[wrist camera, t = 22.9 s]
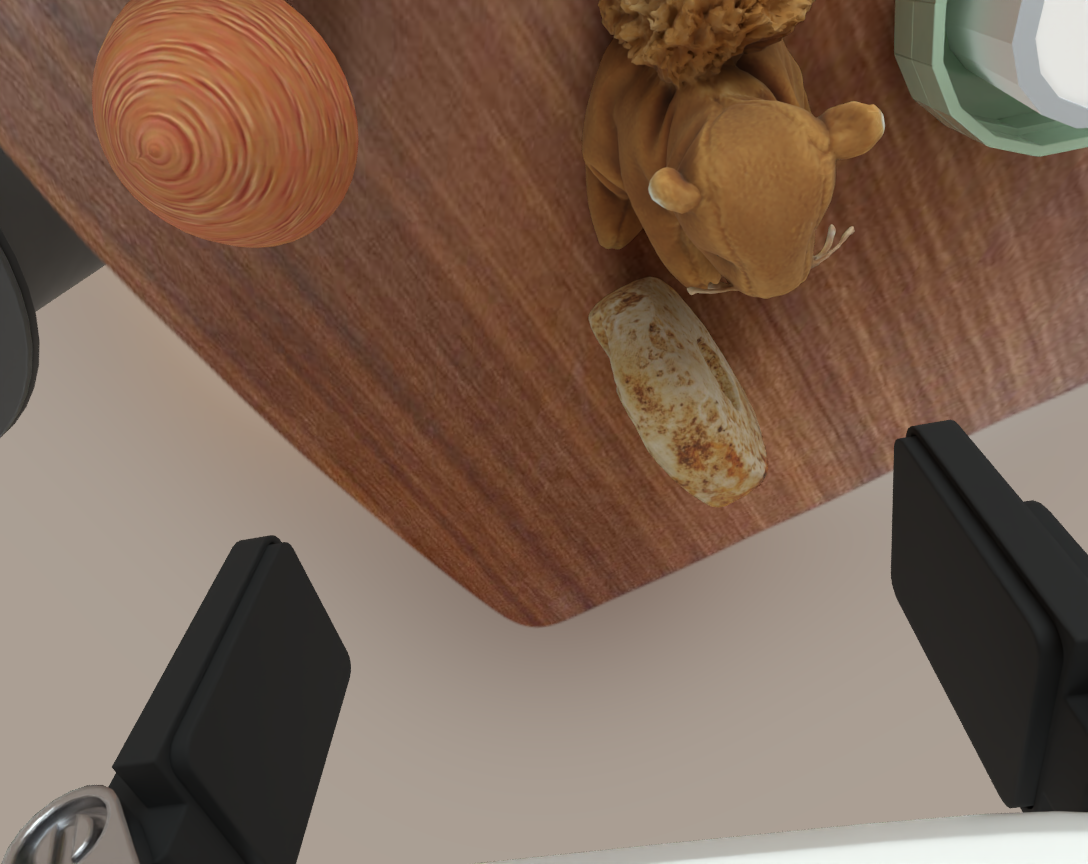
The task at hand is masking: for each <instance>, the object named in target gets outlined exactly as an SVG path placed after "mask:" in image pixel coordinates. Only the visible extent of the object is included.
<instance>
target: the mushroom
mask: <svg viewBox="0 0 1088 864" xmlns="http://www.w3.org/2000/svg"><path fill="white" fill-rule="evenodd" d="M92 104H93V118H94V122H95V127H96V131H97V135H98V138H99V141H100V143H101V146H102V149H103V152H104V154H105V156H106V158H107V159H108V161H109V163H110V165H111V167H112V169H113V170H114V172H115V173H116V175H117V176H118V178H119V179H120V181H121V182H122V184H123V185H124V186H125V187H126V188H127V189H128V190H129V191H130V193H131V194H132V195H133V196H134V197H135V198H136V199H137V200H138V201H139V202H140V203H141V204H143V205H144V206H145V207H146V208H147V209H148V210H150V211H151V212H153V213H154V214H155V215H157V216H158V217H160V218H161V219H163V220H164V221H166V222H167V223H169V224H171V225H173V226H174V227H176V228H178V229H180V230H182V231H184V232H186V233H189V234H191V235H194V236H197V237H199V238H202V239H205V240H209V241H214V242H218V243H223V244H227V245H232V246H239V247H253V248H260V247H272V246H278V245H282V244H285V243H289V242H293V241H295V240H297V239H299V238H301V237H304V236H306V235H308V234H309V233H311V232H312V231H314V230H315V229H316V228H318V227H319V226H321V225H322V224H323V223H324V222H325V221H326V220H327V219H328V218H329V217H330V216H331V215H332V214H333V213H334V212H335V210H336V209H337V207H338V206H339V204H340V203H341V201H342V200H343V198H344V197H345V194H346V192H347V190H348V188H349V185H350V183H351V181H352V177H353V174H354V170H355V166H356V162H357V152H358V125H357V117H356V112H355V107H354V102H353V98H352V95H351V92H350V89H349V86H348V83H347V81H346V78H345V75H344V73H343V72H342V70H341V68H340V66H339V64H338V62H337V60H336V58H335V56H334V54H333V53H332V51H331V50H330V48H329V47H328V46H327V44H326V43H325V41H324V40H323V38H322V37H321V35H320V34H319V33H318V32H317V31H316V30H315V29H314V28H313V27H312V25H311V24H310V23H309V22H308V21H307V20H306V19H305V18H304V17H303V16H302V15H301V14H300V13H298V12H297V11H296V10H295V9H294V8H292V7H291V6H290V5H289V4H288V3H286V2H285V1H284V0H131V1H129V2H128V3H127V4H126V5H125V7H124V8H123V9H122V11H121V12H120V14H119V15H118V16H117V18H116V19H115V20H114V22H113V24H112V26H111V28H110V30H109V32H108V34H107V36H106V38H105V40H104V42H103V45H102V47H101V49H100V52H99V54H98V57H97V61H96V65H95V69H94V74H93V86H92Z"/></svg>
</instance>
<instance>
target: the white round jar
mask: <svg viewBox="0 0 1088 864" xmlns="http://www.w3.org/2000/svg"><path fill="white" fill-rule="evenodd" d="M945 28H946V33H947V38H948V43H949V47H950V50H951V51H952V52H953V53H954V55H955V56H956V57H957V58H958V60H959V61H960V62H961V63H962V64H963V66H964V67H965V68H966V69H967V70H969V71H971V72H972V73H974V74H975V75H977V76H979V77H980V78H982V79H984V80H985V81H987V82H989V83H990V84H992V85H993V86H995V87H997V88H998V89H1000V90H1002V91H1003V92H1005V93H1007V94H1008V95H1010V96H1011V97H1013V98H1015V99H1016V100H1018V101H1020V102H1021V103H1023V104H1025V105H1026V106H1028V107H1029V108H1031V109H1033V110H1034V111H1036V112H1038V113H1039V114H1041V115H1043V116H1046V117H1048V118H1051V119H1053V120H1056V121H1059V122H1061V123H1064V124H1066V125H1069V126H1071V127H1074V128H1076V129H1077V128H1088V0H948V1H947V6H946V19H945Z"/></svg>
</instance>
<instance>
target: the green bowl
mask: <svg viewBox="0 0 1088 864" xmlns="http://www.w3.org/2000/svg"><path fill="white" fill-rule="evenodd" d="M947 1H948V0H895V31H894V53H895V54H894V55H895V58H896V60H897V63H898V65H899V68H900V70H901V72H902V75H903V77H904V80H905V82H906V85H907V87H908V89H909V92H910V94H911V97H912V98H913V99H914V100H915V101H916V102H917V103H918V104H920V105H921V106H922V107H923V108H925V109H926V110H927V111H928V112H929V113H931V114H932V115H933V116H934V117H935V118H937V119H938V120H939V121H940V122H942V123H943V124H944V125H945V126H947V127H949V128H951V129H953V130H955V131H957V132H960V133H962V134H964V135H966V136H968V137H970V138H972V139H974V140H976V141H978V142H980V143H982V144H984V145H986V146H988V147H992V148H997V149H1002V150H1006V151H1011V152H1016V153H1021V154H1026V155H1031V156H1036V157H1038V156H1039V157H1040V156H1045V155H1050V154H1055V153H1060V152H1065V151H1070V150H1075V149H1080V148H1085V147H1088V128H1077V129H1076V128H1074V127H1071V126H1069V125H1066V124H1064V123H1061V122H1059V121H1056V120H1053V119H1051V118H1048V117H1046V116H1043V115H1041V114H1039V113H1038V112H1036V111H1034V110H1033V109H1031V108H1029V107H1028V106H1026V105H1025V104H1023V103H1021V102H1020V101H1018V100H1016V99H1015V98H1013V97H1011V96H1010V95H1008V94H1007V93H1005V92H1003V91H1002V90H1000V89H998V88H997V87H995V86H993V85H992V84H990V83H989V82H987V81H985V80H984V79H982V78H980V77H979V76H977V75H975V74H974V73H972V72H971V71H969V70H967V69H966V68H965V67H964V66H963V64H962V63H961V62H960V61H959V60H958V58H957V57H956V56H955V55H954V53H953V52H952V51H951V50H950V47H949V43H948V38H947V33H946V28H945V19H946V6H947Z"/></svg>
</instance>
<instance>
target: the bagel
mask: <svg viewBox="0 0 1088 864" xmlns="http://www.w3.org/2000/svg"><path fill="white" fill-rule="evenodd" d="M588 319H589V322H590V326H591V329H592V330H593V332H594V334H595V336H596V338H597V340H598V341H599V343H600V344H601V346H602V347H603V349H604V350H605V352H606V353H607V355H608V356H609V358H610V362H611V367H612V371H613V374H614V381H615V383H616V385H617V389H616V391H617V394H618V396H619V398H620V400H621V402H622V404H623V406H624V408H625V410H626V412H627V414H628V415H629V417H630V419H631V420H632V422H633V423H634V425H635V427H636V429H637V431H638V433H639V435H640V437H641V439H642V441H643V443H644V445H645V447H646V448H647V450H648V452H649V453H650V454H651V456H652V457H653V458H654V459H655V461H656V462H657V463H658V464H659V465H660V466H661V467H662V468H663V469H664V470H665V471H666V472H667V473H668V475H669V476H670V477H671V478H672V479H673V480H674V481H676V482H677V483H678V484H679V485H680V486H681V487H683V488H684V489H685V490H686V491H688V492H689V493H690V494H691V495H692V496H694V497H696V498H698V499H699V500H701V501H702V502H704V503H705V504H707V505H709V506H712V507H724V506H727V505H729V504H730V503H733V502H735V501H737V500H739V499H740V498H742V497H744V496H745V495H747V494H748V493H750V492H751V491H753V490H754V489H755V488H757V487H758V486H760V485H761V483H762V482H763V480H764V478H765V477H766V475H767V472H768V458H767V453H766V451H765V450H766V448H765V444H764V441H763V436H762V433H761V430H760V427H759V424H758V421H757V418H756V415H755V412H754V410H753V408H752V406H751V404H750V402H749V400H748V398H747V396H746V393H745V391H744V390H743V388H742V387H741V385H740V383H739V382H738V380H737V378H736V376H735V375H734V373H733V371H732V370H731V368H730V366H729V364H728V362H727V361H726V359H725V357H724V356H723V354H722V353H721V351H720V349H719V348H718V346H717V345H716V343H715V342H714V340H713V339H712V337H711V336H710V334H709V332H708V331H707V329H706V327H705V326H704V325H703V323H702V322H701V321H700V320H699V319H698V317H697V316H696V315H695V314H694V312H693V311H692V310H691V309H690V307H689V306H688V305H687V304H686V303H685V302H684V301H683V299H682V298H681V297H680V296H679V295H678V293H677V292H676V291H675V290H674V289H673V288H671V287H670V286H669V285H668V284H667V283H665V282H664V281H662V280H661V279H659V278H657V277H646V278H642V279H638V280H635V281H633V282H631V283H629V284H627V285H625V286H623V287H621V288H619V289H617V290H616V291H614V292H612V293H610V294H609V295H607V296H606V297H604V298H603V299H602V300H601V301H599V302H598V303H597V304H596V305H595V306H594V308H593V309H592V310H591V312H590V314H589V317H588Z"/></svg>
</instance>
